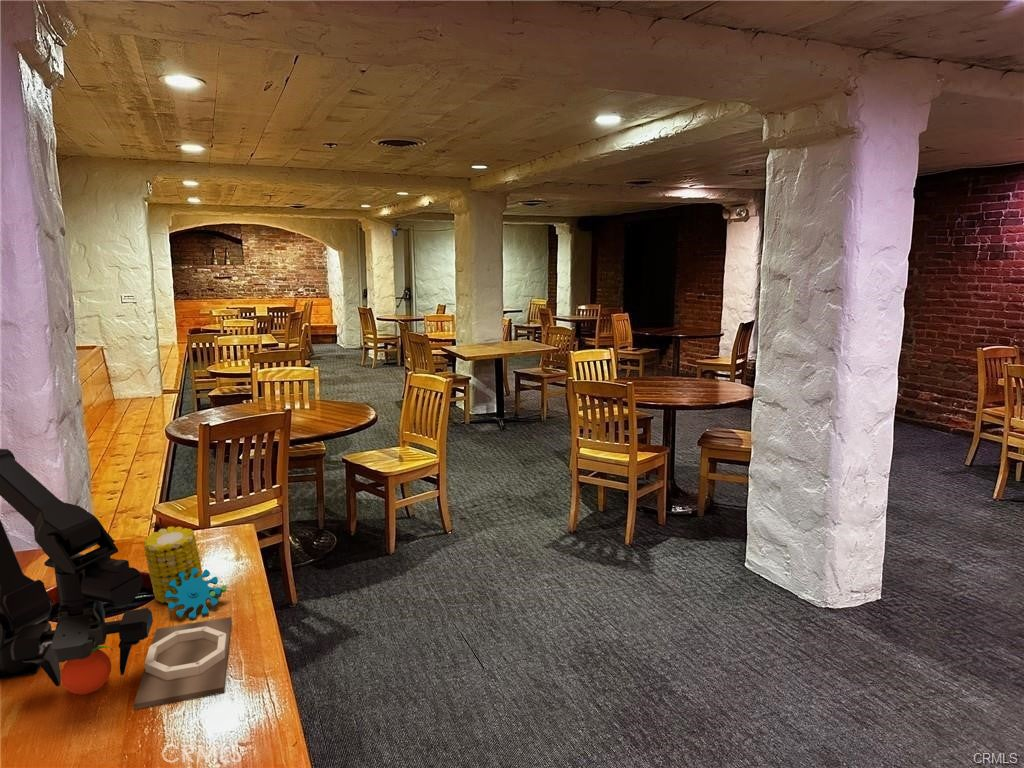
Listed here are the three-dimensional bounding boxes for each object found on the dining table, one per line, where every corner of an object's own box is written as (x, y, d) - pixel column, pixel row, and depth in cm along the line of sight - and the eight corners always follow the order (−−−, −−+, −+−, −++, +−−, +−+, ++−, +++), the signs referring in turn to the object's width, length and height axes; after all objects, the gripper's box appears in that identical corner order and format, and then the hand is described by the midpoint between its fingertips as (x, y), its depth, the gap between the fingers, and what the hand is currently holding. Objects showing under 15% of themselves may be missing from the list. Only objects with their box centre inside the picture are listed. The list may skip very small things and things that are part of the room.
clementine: (105, 668, 115) (100, 631, 113) (128, 681, 111) (124, 643, 110) (55, 694, 108) (49, 655, 107) (78, 709, 105) (72, 669, 103)
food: (213, 594, 142) (174, 620, 133) (171, 572, 146) (131, 596, 136) (217, 533, 137) (177, 556, 128) (174, 513, 141) (132, 533, 132)
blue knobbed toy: (163, 619, 127) (167, 568, 132) (163, 628, 131) (166, 578, 136) (226, 613, 132) (227, 564, 137) (223, 622, 136) (225, 574, 141)
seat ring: (141, 684, 109) (140, 676, 109) (154, 642, 120) (153, 634, 120) (223, 670, 113) (222, 661, 113) (228, 630, 125) (227, 622, 124)
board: (134, 709, 105) (133, 704, 105) (156, 633, 125) (156, 628, 125) (224, 692, 109) (223, 687, 109) (231, 621, 129) (231, 616, 129)
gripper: (-11, 630, 96) (5, 724, 99) (136, 608, 102) (146, 698, 105) (17, 592, 106) (30, 679, 109) (148, 574, 112) (157, 657, 115)
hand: (91, 679), depth 109 cm, fingers open, 9 cm apart
